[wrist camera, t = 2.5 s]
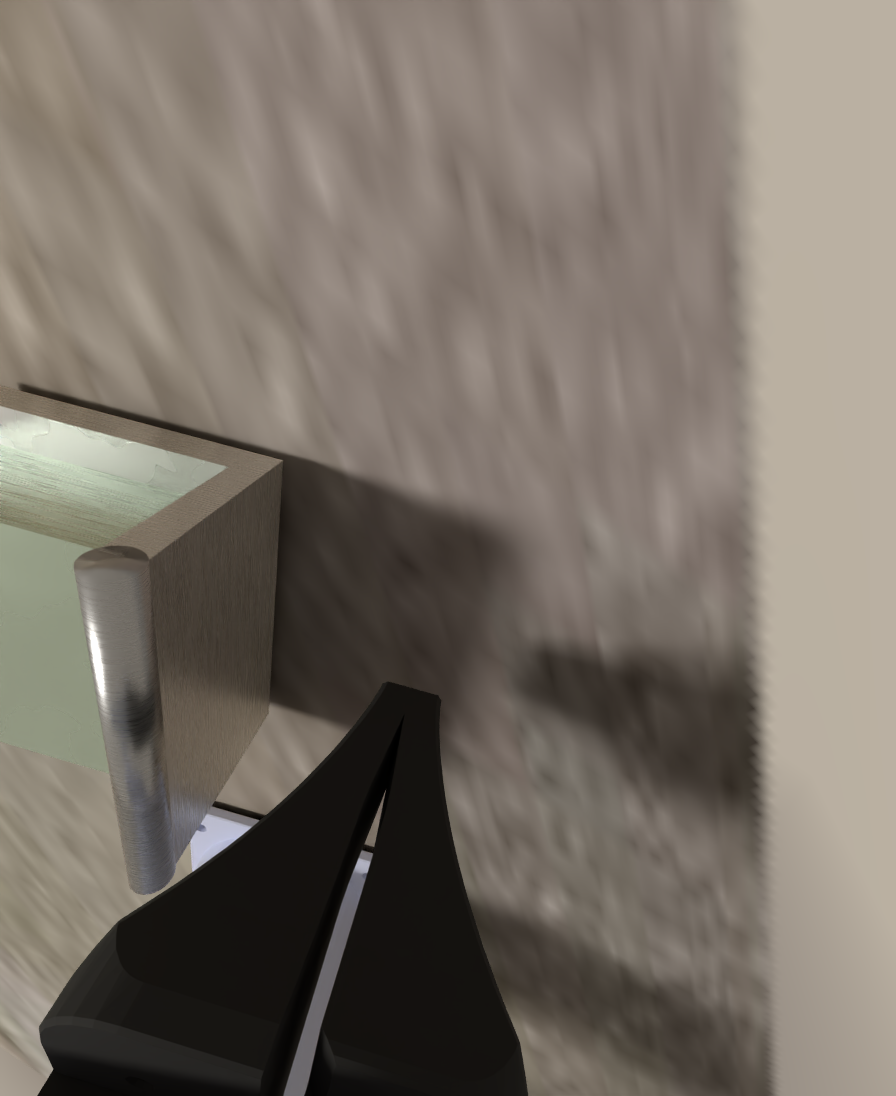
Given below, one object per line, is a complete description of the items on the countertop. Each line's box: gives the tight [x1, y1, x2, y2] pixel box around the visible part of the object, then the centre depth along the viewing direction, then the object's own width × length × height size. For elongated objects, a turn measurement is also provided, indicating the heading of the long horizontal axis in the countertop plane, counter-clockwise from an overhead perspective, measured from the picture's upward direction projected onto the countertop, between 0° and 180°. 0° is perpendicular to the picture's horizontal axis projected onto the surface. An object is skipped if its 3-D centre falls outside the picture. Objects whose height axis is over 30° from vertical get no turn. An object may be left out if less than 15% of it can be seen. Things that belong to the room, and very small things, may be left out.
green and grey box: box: [0, 385, 283, 895], centre depth 13 cm, size 9×8×6 cm
